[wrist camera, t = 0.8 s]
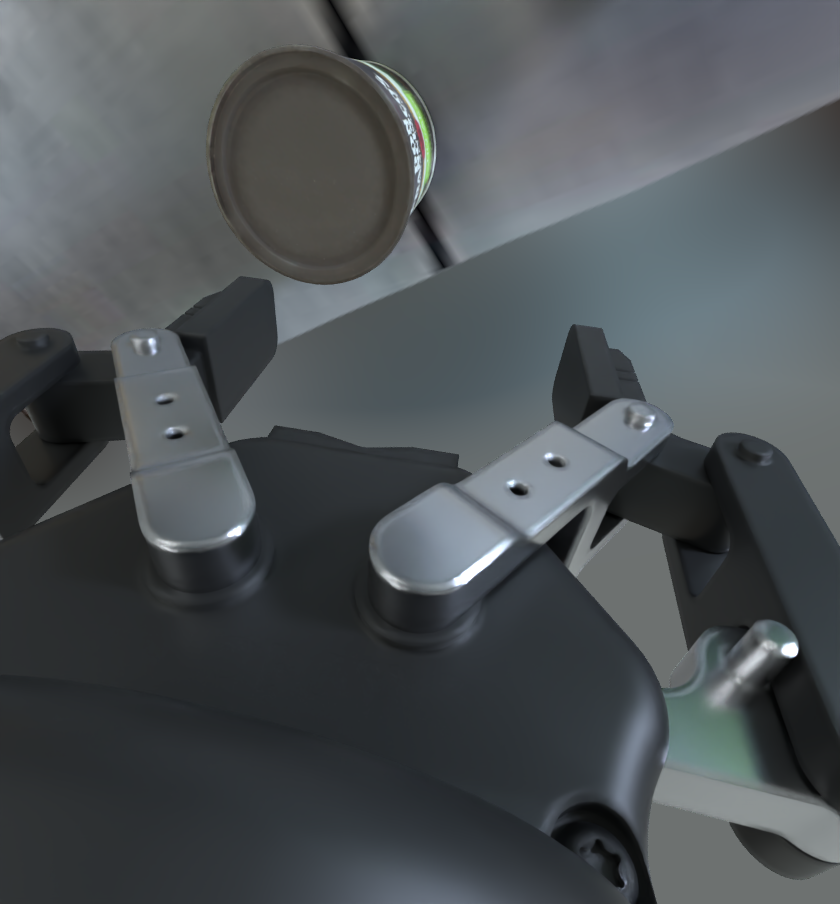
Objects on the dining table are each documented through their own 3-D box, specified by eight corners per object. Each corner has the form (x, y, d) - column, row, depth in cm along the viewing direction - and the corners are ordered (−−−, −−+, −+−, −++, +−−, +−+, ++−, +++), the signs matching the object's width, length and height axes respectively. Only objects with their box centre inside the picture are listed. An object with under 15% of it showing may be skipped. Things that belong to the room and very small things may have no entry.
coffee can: (415, 35, 32) (377, 8, 21) (450, 208, 38) (436, 261, 26) (269, 85, 35) (163, 85, 23) (322, 241, 40) (259, 303, 29)
